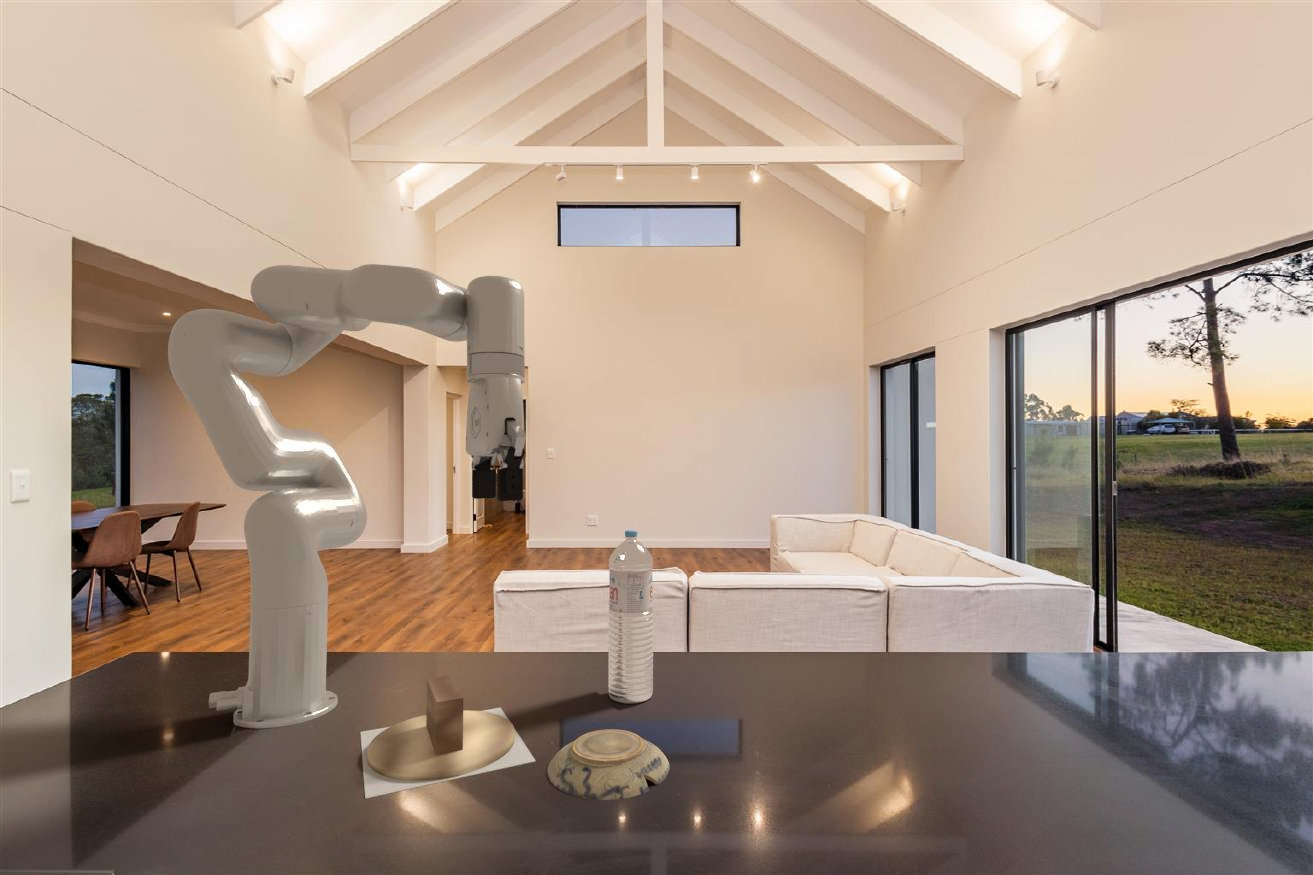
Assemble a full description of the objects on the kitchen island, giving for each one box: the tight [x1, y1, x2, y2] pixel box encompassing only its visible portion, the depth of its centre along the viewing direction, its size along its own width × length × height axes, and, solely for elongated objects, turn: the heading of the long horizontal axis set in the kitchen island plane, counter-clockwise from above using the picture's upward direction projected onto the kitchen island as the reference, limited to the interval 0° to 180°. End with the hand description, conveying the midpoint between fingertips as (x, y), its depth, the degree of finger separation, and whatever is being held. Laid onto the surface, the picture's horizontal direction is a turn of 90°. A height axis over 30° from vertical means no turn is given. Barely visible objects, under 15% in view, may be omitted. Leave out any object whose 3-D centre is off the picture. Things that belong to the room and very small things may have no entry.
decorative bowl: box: [546, 728, 671, 801], centre depth 71 cm, size 15×4×15 cm
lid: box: [367, 674, 516, 781], centre depth 76 cm, size 17×17×7 cm
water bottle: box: [607, 529, 654, 705], centre depth 95 cm, size 7×7×25 cm
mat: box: [359, 707, 537, 800], centre depth 76 cm, size 18×18×1 cm
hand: (496, 499), depth 82 cm, fingers open, 9 cm apart
